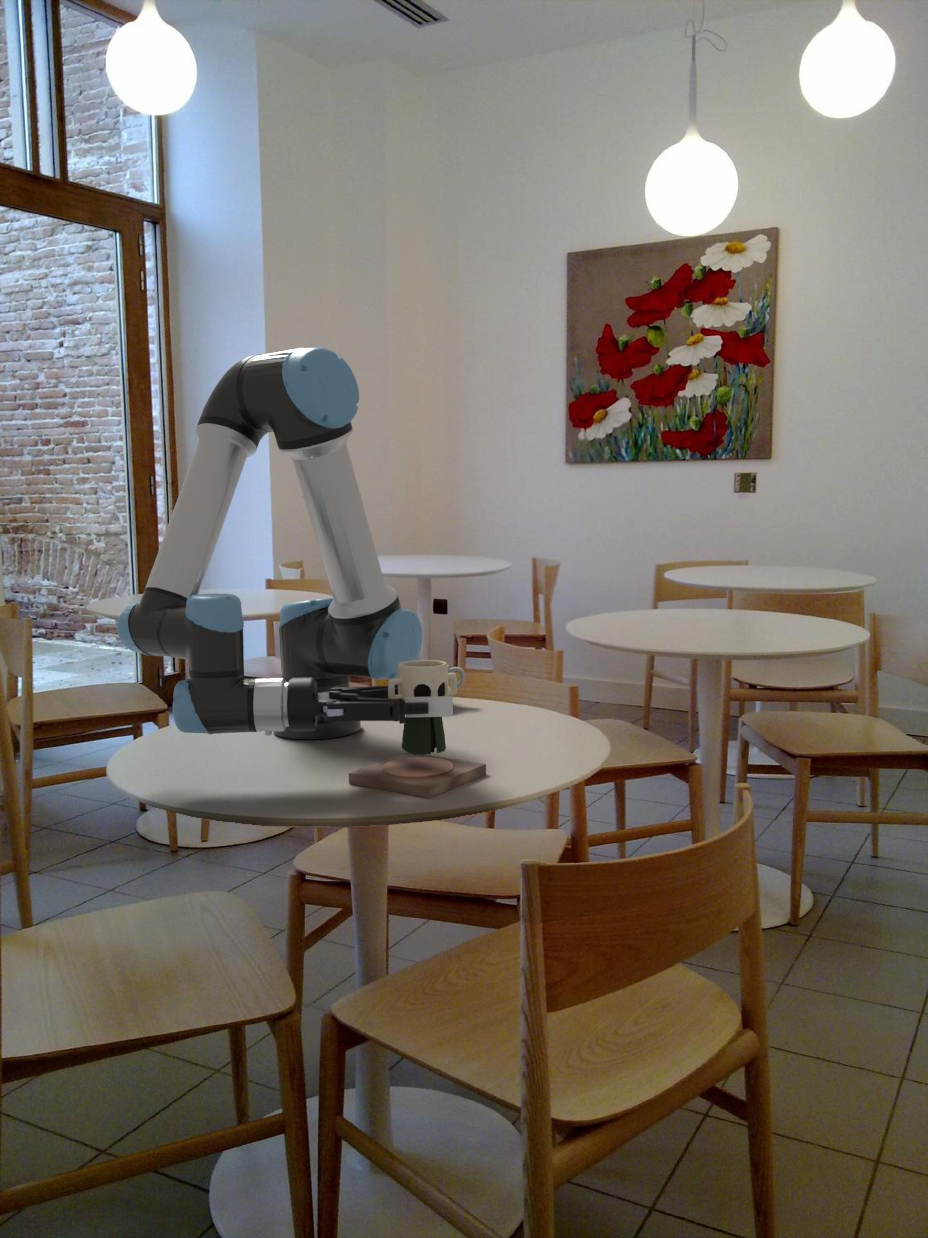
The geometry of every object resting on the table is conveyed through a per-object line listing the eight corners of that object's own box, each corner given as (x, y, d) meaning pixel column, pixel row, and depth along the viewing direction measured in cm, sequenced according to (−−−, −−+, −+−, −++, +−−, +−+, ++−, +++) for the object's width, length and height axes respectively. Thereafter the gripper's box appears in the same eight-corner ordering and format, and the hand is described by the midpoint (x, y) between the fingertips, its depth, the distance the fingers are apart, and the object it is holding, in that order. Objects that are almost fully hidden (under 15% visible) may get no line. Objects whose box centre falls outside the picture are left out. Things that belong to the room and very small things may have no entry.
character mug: (400, 763, 137) (399, 669, 136) (378, 753, 143) (377, 663, 142) (469, 753, 143) (468, 663, 141) (445, 744, 149) (444, 657, 147)
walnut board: (409, 761, 153) (408, 749, 153) (486, 774, 145) (485, 761, 145) (348, 783, 142) (348, 770, 141) (429, 798, 134) (428, 784, 134)
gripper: (296, 716, 151) (447, 713, 153) (280, 747, 131) (455, 743, 133) (294, 667, 151) (447, 664, 152) (279, 690, 131) (454, 687, 132)
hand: (450, 701), depth 142 cm, fingers closed on character mug, 7 cm apart
